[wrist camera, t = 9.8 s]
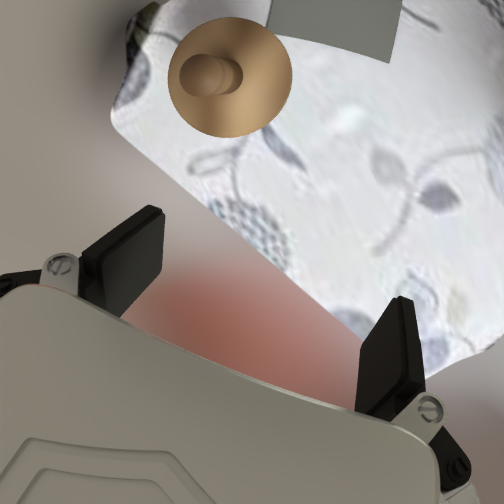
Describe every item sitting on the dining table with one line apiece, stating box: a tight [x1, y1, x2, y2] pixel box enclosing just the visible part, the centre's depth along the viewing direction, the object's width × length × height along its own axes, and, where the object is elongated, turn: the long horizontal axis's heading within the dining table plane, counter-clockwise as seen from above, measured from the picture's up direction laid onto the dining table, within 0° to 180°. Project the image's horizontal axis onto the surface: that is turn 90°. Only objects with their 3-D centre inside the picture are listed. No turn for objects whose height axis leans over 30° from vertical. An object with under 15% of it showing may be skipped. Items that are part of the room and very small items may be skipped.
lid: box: [168, 17, 292, 138], centre depth 21 cm, size 11×11×6 cm
